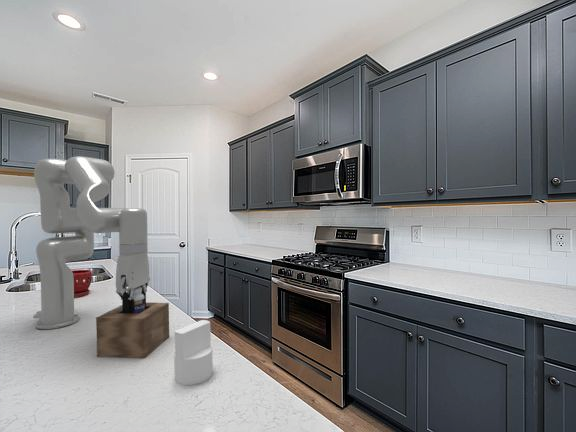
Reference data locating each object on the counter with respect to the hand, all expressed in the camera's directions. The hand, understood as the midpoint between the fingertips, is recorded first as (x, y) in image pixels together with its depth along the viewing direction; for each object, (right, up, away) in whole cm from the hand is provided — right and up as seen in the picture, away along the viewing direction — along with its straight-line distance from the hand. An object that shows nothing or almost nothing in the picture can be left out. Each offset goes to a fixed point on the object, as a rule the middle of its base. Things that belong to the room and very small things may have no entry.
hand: (134, 308), depth 88 cm
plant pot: (-58, -11, +56) cm, 82 cm away
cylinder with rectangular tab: (+23, -11, -16) cm, 30 cm away
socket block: (0, -11, 0) cm, 11 cm away
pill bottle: (0, -4, 0) cm, 4 cm away
